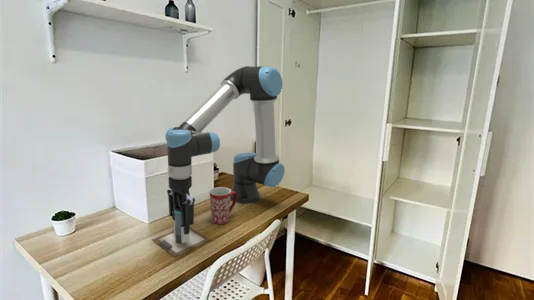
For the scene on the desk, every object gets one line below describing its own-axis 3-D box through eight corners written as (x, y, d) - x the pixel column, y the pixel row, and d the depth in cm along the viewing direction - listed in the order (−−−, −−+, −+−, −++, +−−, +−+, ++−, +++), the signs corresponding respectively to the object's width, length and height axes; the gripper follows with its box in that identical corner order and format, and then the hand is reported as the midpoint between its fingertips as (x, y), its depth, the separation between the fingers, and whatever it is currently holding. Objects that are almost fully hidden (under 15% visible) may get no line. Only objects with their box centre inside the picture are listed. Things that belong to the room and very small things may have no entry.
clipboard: (187, 226, 118) (187, 223, 118) (210, 240, 109) (210, 237, 109) (152, 240, 107) (152, 236, 107) (174, 257, 98) (174, 253, 98)
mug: (215, 227, 118) (215, 196, 115) (205, 218, 125) (205, 189, 122) (242, 219, 126) (242, 190, 123) (231, 212, 133) (231, 184, 130)
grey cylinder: (183, 236, 107) (182, 205, 104) (189, 240, 104) (189, 209, 101) (173, 240, 104) (172, 209, 101) (179, 245, 101) (178, 212, 98)
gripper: (156, 172, 101) (159, 233, 106) (184, 185, 90) (186, 252, 95) (176, 168, 106) (177, 226, 112) (204, 180, 96) (205, 244, 101)
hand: (181, 238), depth 104 cm, fingers closed on grey cylinder, 4 cm apart
